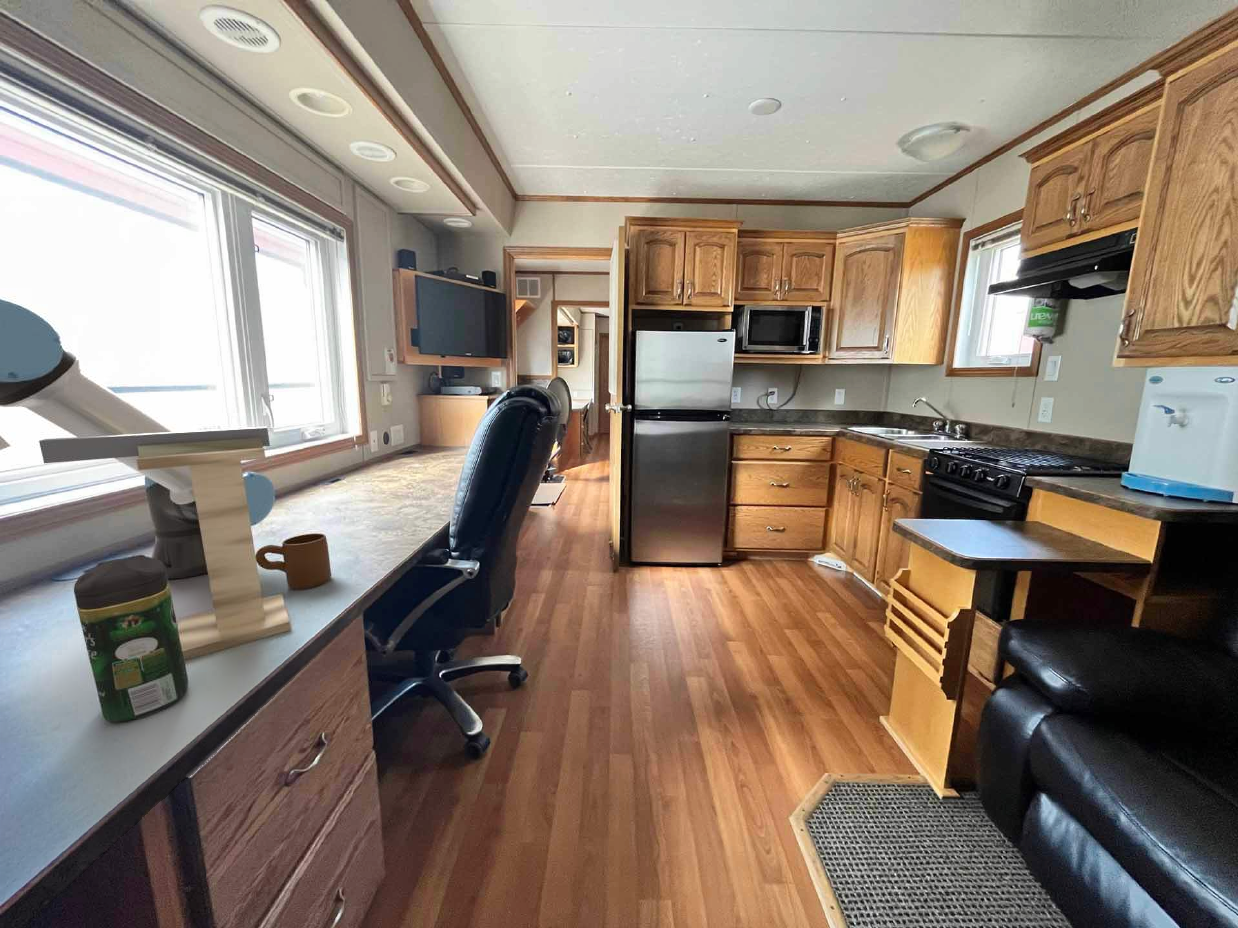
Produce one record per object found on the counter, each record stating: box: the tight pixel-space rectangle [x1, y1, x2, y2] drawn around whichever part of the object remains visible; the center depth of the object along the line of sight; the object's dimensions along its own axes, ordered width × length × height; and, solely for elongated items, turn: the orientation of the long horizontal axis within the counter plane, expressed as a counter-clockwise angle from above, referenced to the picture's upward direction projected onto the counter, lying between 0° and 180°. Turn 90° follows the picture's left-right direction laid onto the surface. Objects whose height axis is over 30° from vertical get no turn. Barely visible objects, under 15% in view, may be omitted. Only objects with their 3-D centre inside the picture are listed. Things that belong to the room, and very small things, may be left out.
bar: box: [38, 426, 271, 464], centre depth 70 cm, size 3×24×3 cm, turn 130°
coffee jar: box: [73, 554, 189, 724], centre depth 58 cm, size 10×8×19 cm
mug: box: [255, 532, 332, 591], centre depth 94 cm, size 12×8×9 cm, turn 120°
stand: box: [136, 438, 291, 661], centre depth 75 cm, size 14×14×32 cm
